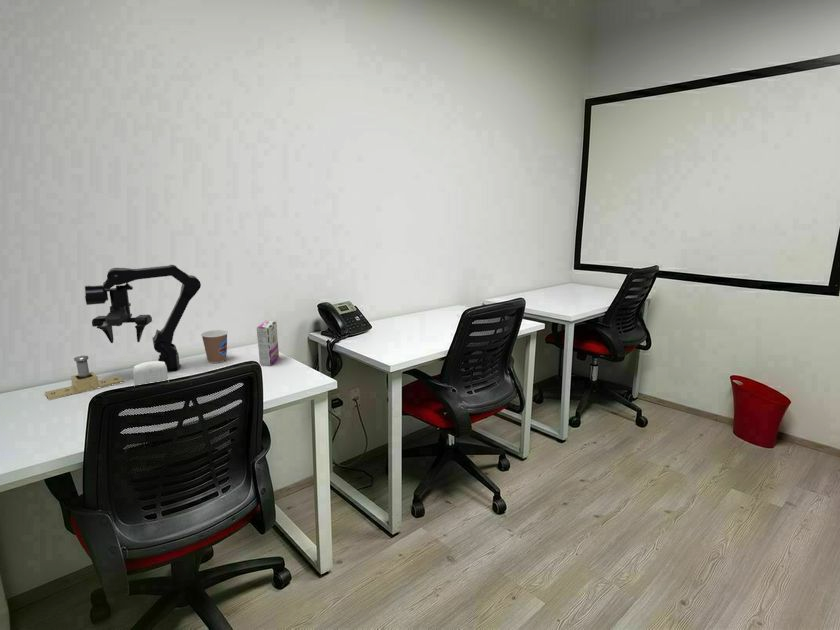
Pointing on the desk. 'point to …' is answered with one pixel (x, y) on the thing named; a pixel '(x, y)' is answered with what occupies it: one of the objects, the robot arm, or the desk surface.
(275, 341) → the candy bar box
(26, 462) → the desk surface
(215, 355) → the coffee cup
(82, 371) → the hinge pin
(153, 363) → the photo printer
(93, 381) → the brass socket plate
